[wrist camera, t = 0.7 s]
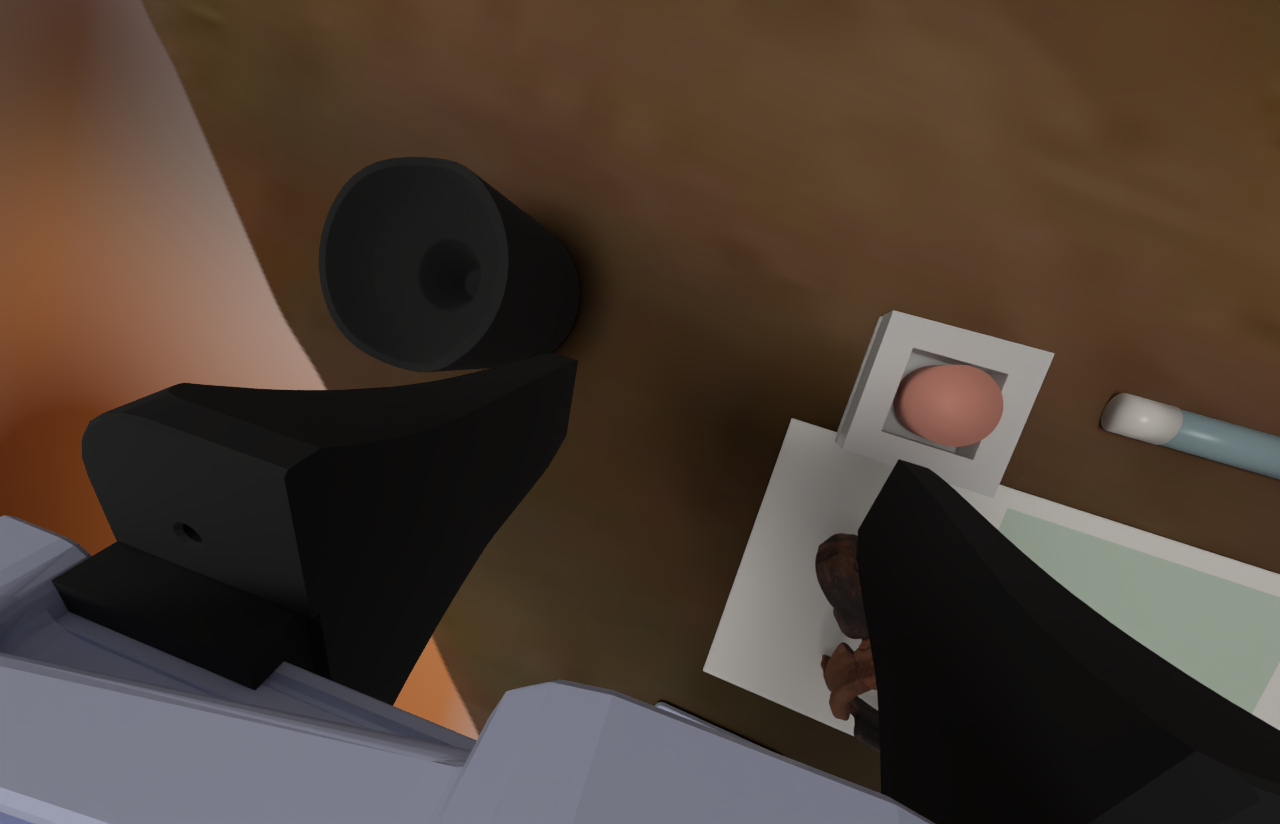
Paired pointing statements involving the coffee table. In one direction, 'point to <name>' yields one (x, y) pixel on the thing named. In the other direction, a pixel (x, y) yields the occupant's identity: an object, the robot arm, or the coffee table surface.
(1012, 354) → the white square holder
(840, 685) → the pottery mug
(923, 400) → the button
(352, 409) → the robot arm
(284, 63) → the coffee table surface
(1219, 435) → the marker
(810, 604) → the paper
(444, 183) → the pen holder
